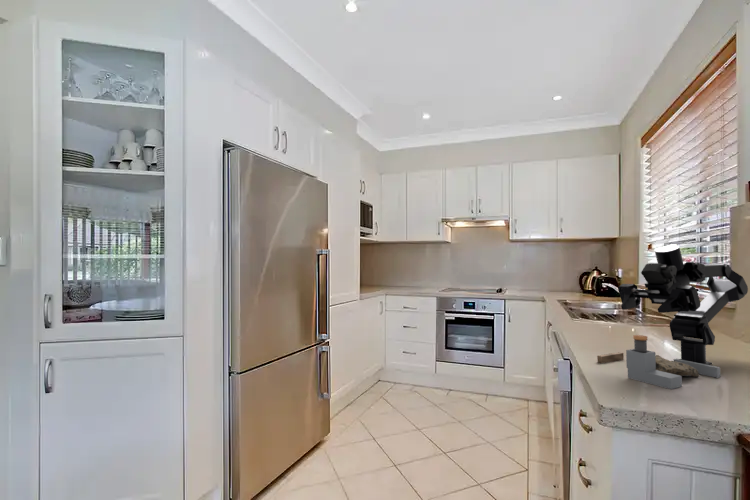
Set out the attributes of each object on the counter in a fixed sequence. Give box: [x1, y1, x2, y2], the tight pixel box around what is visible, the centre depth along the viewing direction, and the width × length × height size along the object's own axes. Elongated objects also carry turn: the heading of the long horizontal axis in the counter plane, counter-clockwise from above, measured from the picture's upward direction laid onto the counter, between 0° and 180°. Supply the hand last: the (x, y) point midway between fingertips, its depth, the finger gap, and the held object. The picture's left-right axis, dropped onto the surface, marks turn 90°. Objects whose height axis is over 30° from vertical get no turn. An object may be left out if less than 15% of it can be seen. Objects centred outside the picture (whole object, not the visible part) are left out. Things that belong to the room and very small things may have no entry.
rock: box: [655, 354, 700, 378], centre depth 104 cm, size 11×12×4 cm
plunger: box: [632, 334, 649, 353], centre depth 100 cm, size 3×3×6 cm
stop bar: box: [596, 351, 625, 364], centre depth 118 cm, size 10×1×2 cm, turn 116°
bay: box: [625, 348, 721, 390], centre depth 101 cm, size 22×10×7 cm, turn 115°
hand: (639, 309), depth 104 cm, fingers open, 9 cm apart
